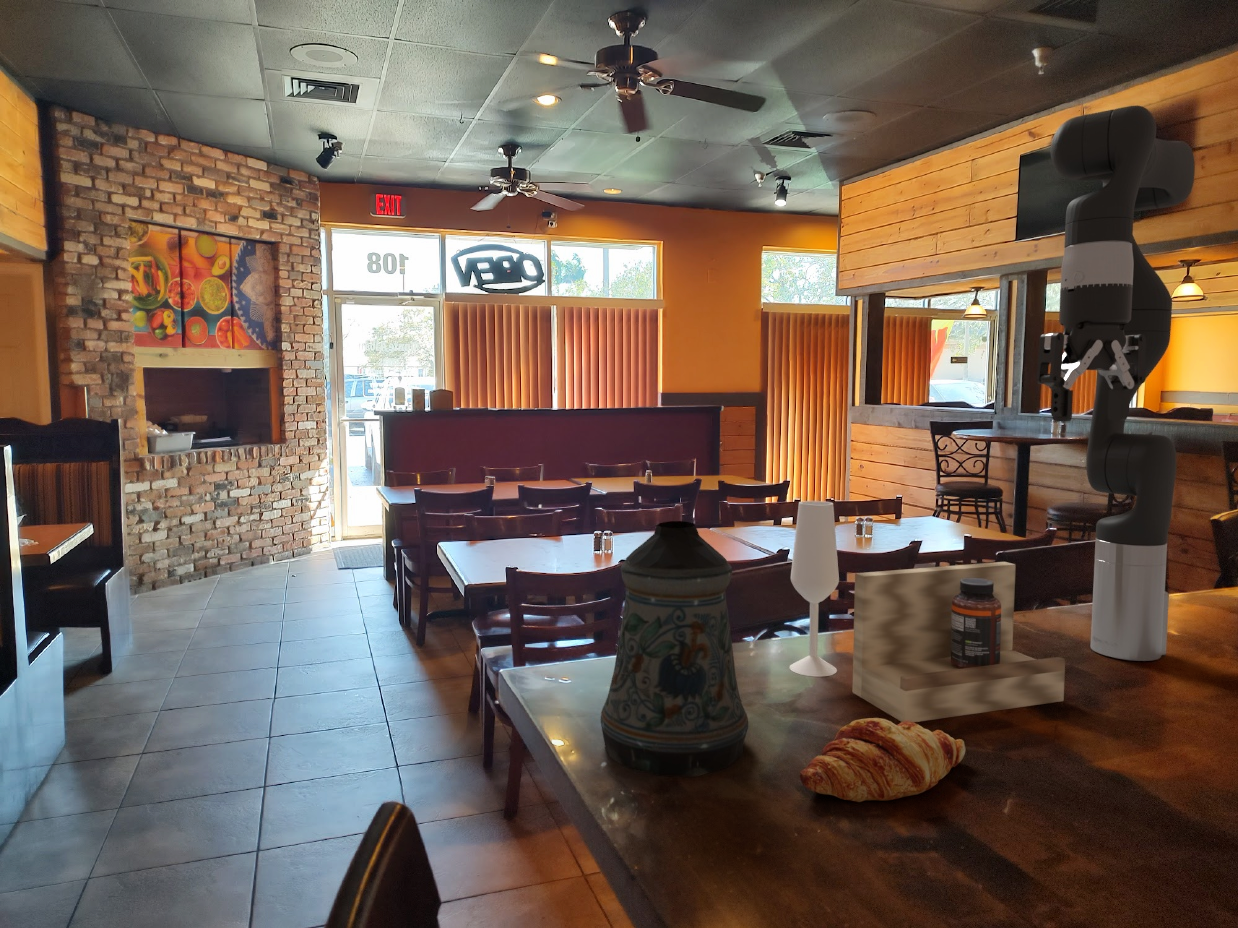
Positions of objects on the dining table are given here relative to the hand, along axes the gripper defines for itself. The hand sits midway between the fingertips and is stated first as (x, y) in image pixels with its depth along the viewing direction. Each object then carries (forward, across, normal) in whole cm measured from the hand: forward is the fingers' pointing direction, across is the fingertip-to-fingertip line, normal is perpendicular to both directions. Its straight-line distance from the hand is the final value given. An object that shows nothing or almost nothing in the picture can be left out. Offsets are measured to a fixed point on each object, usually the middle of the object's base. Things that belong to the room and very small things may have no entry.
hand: (1089, 420), depth 101 cm
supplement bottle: (+32, +9, -8) cm, 34 cm away
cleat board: (+36, +11, -9) cm, 39 cm away
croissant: (+37, +34, +9) cm, 51 cm away
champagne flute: (+36, +23, -24) cm, 49 cm away
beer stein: (+36, +51, -7) cm, 63 cm away
